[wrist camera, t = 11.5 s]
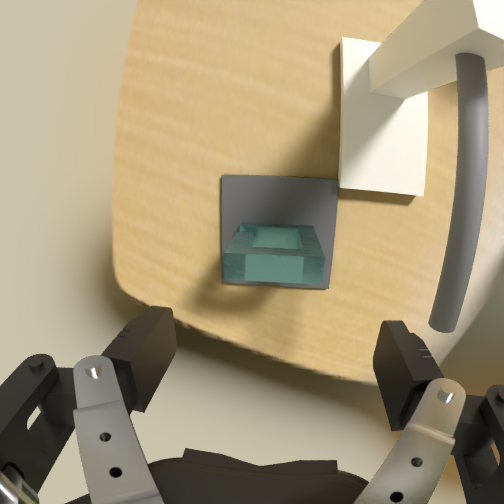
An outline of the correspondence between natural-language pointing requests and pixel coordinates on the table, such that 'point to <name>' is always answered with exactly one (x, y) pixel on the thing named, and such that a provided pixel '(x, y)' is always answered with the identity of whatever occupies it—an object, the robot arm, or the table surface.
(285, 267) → the c link
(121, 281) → the table surface
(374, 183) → the stand
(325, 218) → the pad
